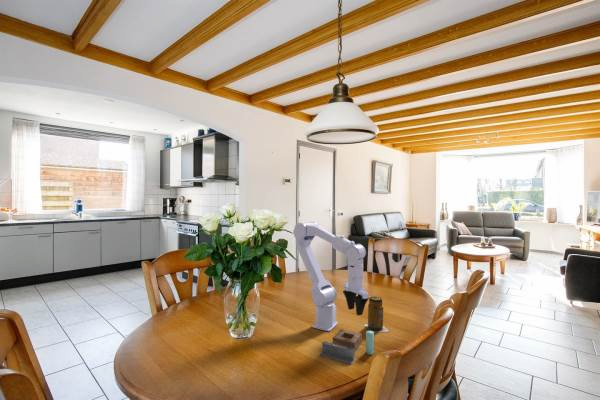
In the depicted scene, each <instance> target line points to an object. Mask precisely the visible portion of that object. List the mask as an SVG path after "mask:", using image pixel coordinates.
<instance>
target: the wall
mask: <svg viewBox="0 0 600 400" xmlns="http://www.w3.org/2000/svg"><path fill="white" fill-rule="evenodd" d="M321 347H322V349H321V350H322V351H321V352H320V353H319V357H324V358H326V359H327V358H328V359H331V360H335V361H338V362H341V363H344V364H348V365H352V364H353V363H354V361H355V354H356V352H355V349H352V348H348V347H344V346H340V345H336V344H333V342H329V341H328V342H327V341H322V343H321Z"/></svg>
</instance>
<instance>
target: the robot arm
mask: <svg viewBox="0 0 600 400" xmlns="http://www.w3.org/2000/svg"><path fill="white" fill-rule="evenodd" d="M292 233H293V236H294V238H295V245H296V248H297V251H298V253H299V256H300V257H301V261H302V262H303V265H304V267H305V270H306V271H307V274H308V276H309V279H310V281H311V283H312V286H311V287H310V292H311V295H312V297H311V298H312V301H313V304H314V305H315V323H314V324H313V325H312V326H311V328H312V329H313V328H314V329H317V330H321V331H326V332H331V331H333V329H334V328H335V327H336V326H337V325H338V324H339V321H337V306H336V305H335V300H336V299H337V297H338V293H337V290H336V288H335V287H333V286H332V284H331V282H330V281H329V280H327V279H325V277H324V275H323V271H322V270H321V267H320V265H319V263H318V260H317V259H316V256H315V255H314V254H315V253H314V252H313V249H312V247H311V244H312V242H313V240H314V239H315V237H317V238H320V239H322V240H324V241H326V242H328V243H329V244H330V245H331V247H332V248H333V249H334V250H335V251H338V252H339V253H340V254H341V253H342V254H343V255H344V256H345V258H346V259H347V282H344V283H343V289H344V290H342V293H343V295H344V297H345V300H346V305H347V308H348V309H347V310H354V309H355V313H356V316H362V315H363V313H364V311H365V306H366V304H367V302H369V298H370V297H369V293H368V292H367V291H366V289H365V288H364V258H365V257H366V255H367V251H366V250H367V249H366V248H365V246H364V245H362V243H355V241H354V240H349V239H347V238H345V237H346V236H345V235H344V234H342V235H340V234H338V235H335V234H333V233H331V232H330V231H328V230H327V229H325V228H324V227H322V226H320V225H319V223H316V222H315V221H309V222H298V223H296V224H295V225H294V227H293V231H292Z"/></svg>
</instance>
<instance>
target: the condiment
mask: <svg viewBox="0 0 600 400" xmlns="http://www.w3.org/2000/svg"><path fill="white" fill-rule="evenodd" d="M367 308H368V309H367V323H365V324H363V326H364V327H366V329H368V331H373V332H374V334H377V333H387V332H390V330H389V329H388V328H386V327H385V326H384V305H383V298H382V297H379V296H370V297H369V299H368V305H367Z"/></svg>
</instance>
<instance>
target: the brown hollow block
mask: <svg viewBox="0 0 600 400" xmlns="http://www.w3.org/2000/svg"><path fill="white" fill-rule="evenodd" d="M362 337H363V335H362V333H359V332H355V331H352V330H346V329H342V328H341V329H340V330H339V331H338V332H336V334H335V335H334V336H333V337H332V343H333V344H336V345H340V346H344V347H348V348H352V349H355V353H356V352H357V350H358V349H359V347H360V346H361V345H362V343H363V340H362Z"/></svg>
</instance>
